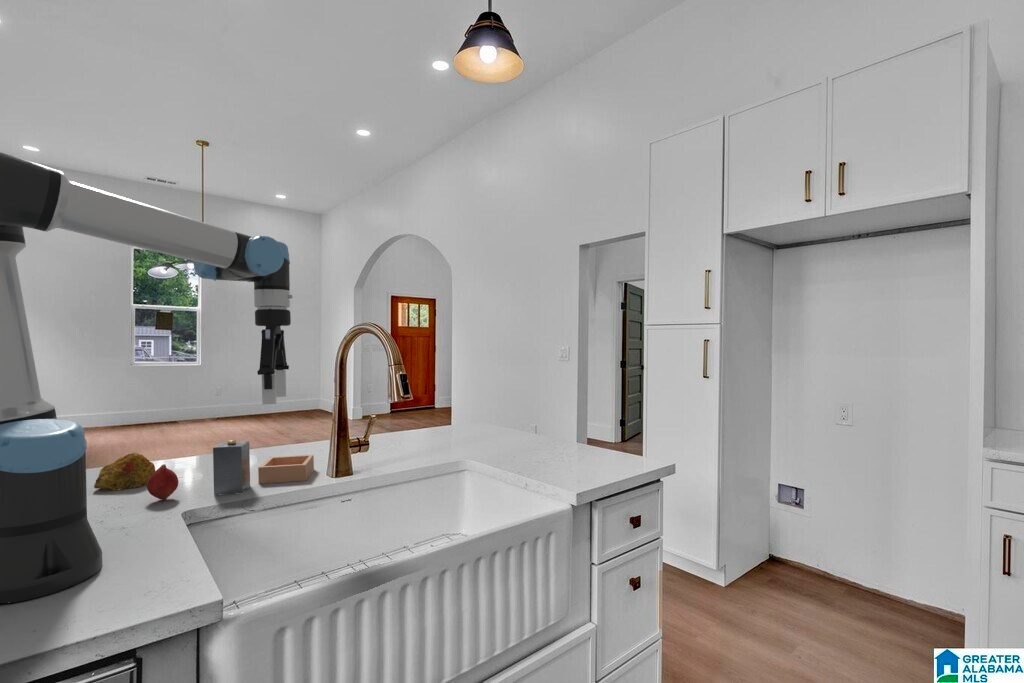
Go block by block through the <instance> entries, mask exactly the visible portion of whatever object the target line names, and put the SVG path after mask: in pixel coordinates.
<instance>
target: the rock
mask: <svg viewBox="0 0 1024 683" xmlns="http://www.w3.org/2000/svg"><path fill="white" fill-rule="evenodd" d="M155 471H156V467H155V464H154V462H151V461H150V459H147V457H145V456H144V455H143V454H140V453H138V452H132V453H128V454H125V455H124V456H121V457H120V458H118V459H116V460H115V461H114V462H111V463H110V464H107V465H106V464H105V465H104V466H103V467H102V468H101V469H100V471H99V473H98V477H97V479H95V482H94V485H93V488H94V489H102V490H103V489H107V490H108V489H109V490H111V491H119V490H118V489H121V490H123V489H133V488H132V487H136V488H138V487H137V486H140V487H142V486H144V485H145V484H146V485H147V481H148V479H149V477H150V476H151V475H152V474H153V473H154V472H155ZM146 485H145V486H146Z"/></svg>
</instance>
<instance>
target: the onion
mask: <svg viewBox="0 0 1024 683" xmlns="http://www.w3.org/2000/svg"><path fill="white" fill-rule="evenodd" d="M179 481H180V480H179V477H178V476H177V474H176V472H174V471H173V470H172V469H169V468H167V465H166V464H165V463H163V464H161V465H160V467H158V468H157V469H155V472H154V473H153V474H152V475H151V476H150V477H149V479H148V481H147V484H146V488H147V492H148V493H149V495H151V496H153V497H154V498H157V499H159V500H160V501H165V500H167V499H168V498H169V497H170V496H171V495H173V493H174V492H175V491H176V490H177V488H178V486H179Z"/></svg>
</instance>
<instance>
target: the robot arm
mask: <svg viewBox="0 0 1024 683" xmlns="http://www.w3.org/2000/svg"><path fill="white" fill-rule="evenodd" d="M24 228H27V229H28V228H29V229H33V230H37V231H42V232H45V233H46V232H50V231H52V230H54V229H62V230H64V231H65V230H66V231H69V232H74V233H78V234H80V235H81V234H82V235H85V236H89V237H95V238H99V239H102V240H106V241H111V242H115V243H119V244H122V245H123V244H124V245H127V246H131V247H136V248H139V249H143V250H148V251H152V252H155V253H160V254H164V255H168V256H172V257H176V258H180V259H185V260H189V261H192V262H193V267H194V269H193V270H194V272H195V273H196V275H197V276H198V277H199V278H201V279H205V280H206V279H207V280H213V281H229V282H233V281H234V282H248V283H253V287H254V288H253V292H254V293H253V295H254V297H253V299H254V300H253V301H254V305H253V306H254V307H255V308H256V309H255V311H254V324H255V326H257V327H265V329H261V330H260V332H261V344H260V345H261V348H260V359H259V369H258V370H257V375H258V376H261V394H262V395H261V400H262V402H261V403H262V405H276V404H277V398H286V397H287V373H286V370H289V369H290V365H288V362H287V354H286V346H285V331H284V329H281V328H282V327H287V326H290V325H291V324H292V322H291V320H292V318H291V316H292V315H291V311H290V310H289V309H288V308H290V306H291V300H292V299H293V297H294V296H293V295H292V294H290V293H291V292H290V291H291V290H290V288H291V287H290V286H291V284H290V283H291V282H290V279H291V278H290V264H291V260H290V253H289V246H288V245H287V244H286V243H284V242H283V241H277V240H276V239H275V238H273V237H271V236H268V235H267V236H266V235H254V236H251V235H248V234H245V233H242V232H237V231H233V230H231V229H228V228H223V227H220V226H217V225H214V224H210V223H207V222H204V221H201V220H198V219H194V218H191V217H188V216H185V215H181V214H178V213H175V212H172V211H168V210H166V209H162V208H159V207H156V206H152V205H149V204H146V203H143V202H140V201H136V200H132V199H130V198H126V197H124V196H120V195H117V194H114V193H111V192H107V191H104V190H101V189H97V188H95V187H91V186H88V185H85V184H81V183H77V182H75V181H71V180H69V178H67V176H66V175H65V174H64V172H63V171H61V170H58V169H55V168H52V167H48V166H46V165H42V164H40V163H37V162H32V161H30V160H27V159H24V158H21V157H19V156H18V157H17V156H14V155H12V154H8V153H4V152H1V151H0V603H7V604H9V603H8V602H13V603H17V602H18V603H19V602H24V601H27V600H33V599H36V598H40V597H45V596H48V595H50V594H54V593H57V592H60V591H63V590H65V589H68V588H71V587H73V586H76V585H78V584H79V583H82V582H84V581H86V580H88V579H90V578H91V577H93V576H94V575H96V574H97V573H98V572H100V570H101V568H102V567H103V551H102V548H101V546H100V544H99V543H100V542H99V541H98V540H97V537H96V535H95V533H94V531H93V528H92V527H91V524H90V522H89V520H88V508H87V507H88V505H87V504H88V502H87V501H88V500H87V497H88V496H87V493H88V492H87V460H86V458H87V457H86V456H87V455H86V454H87V453H86V452H87V451H86V450H87V447H88V442H87V439H86V437H85V435H86V434H85V430H84V427H83V426H82V425H81V424H79V423H78V422H75V421H73V420H68V419H58V418H57V417H58V416H57V412H56V407H55V405H54V404H52V403H50V402H48V401H46V400H44V399H43V398H42V397H41V390H40V385H39V379H38V374H37V369H36V363H35V358H34V351H33V346H32V341H31V336H30V335H31V334H30V331H29V325H28V324H29V323H28V320H27V319H28V318H27V313H26V308H25V307H26V306H25V302H24V298H23V297H24V296H23V291H22V286H21V281H20V275H19V270H18V264H17V258H16V257H17V255H18V254H20V252H22V251H23V250H24V249H25V248H26V247H27V243H26V239H25V232H24Z"/></svg>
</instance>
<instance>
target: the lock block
mask: <svg viewBox="0 0 1024 683" xmlns="http://www.w3.org/2000/svg"><path fill="white" fill-rule="evenodd" d="M250 454H251V453H250V441H249V440H244V441H242V440H241V441H237V440H236V439H229V440H227V441H223V442H220V443H219V444H217V445H215V446H213V447H212V459H213V461H212V463H213V464H212V465H213V468H212V469H213V470H212V471H213V496H214V495H215V496H220V495H219V494H230V495H237V494H236V493H243V492H244V491H245V490H246V489H247V488H248V487H249V486H250V487H251V464H250V462H251V461H250V460H251V458H250ZM250 487H249V488H250ZM249 488H248V489H249ZM248 489H247V490H248ZM247 490H246V491H247ZM246 491H245V492H246ZM245 492H244V493H245ZM244 493H243V494H244Z"/></svg>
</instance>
